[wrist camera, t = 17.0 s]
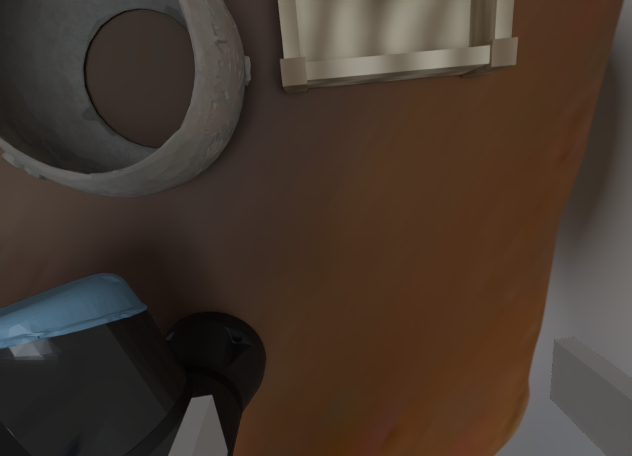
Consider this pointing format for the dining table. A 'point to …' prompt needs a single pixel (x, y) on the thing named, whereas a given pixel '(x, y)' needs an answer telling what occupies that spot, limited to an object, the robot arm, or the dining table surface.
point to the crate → (392, 40)
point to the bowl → (81, 117)
